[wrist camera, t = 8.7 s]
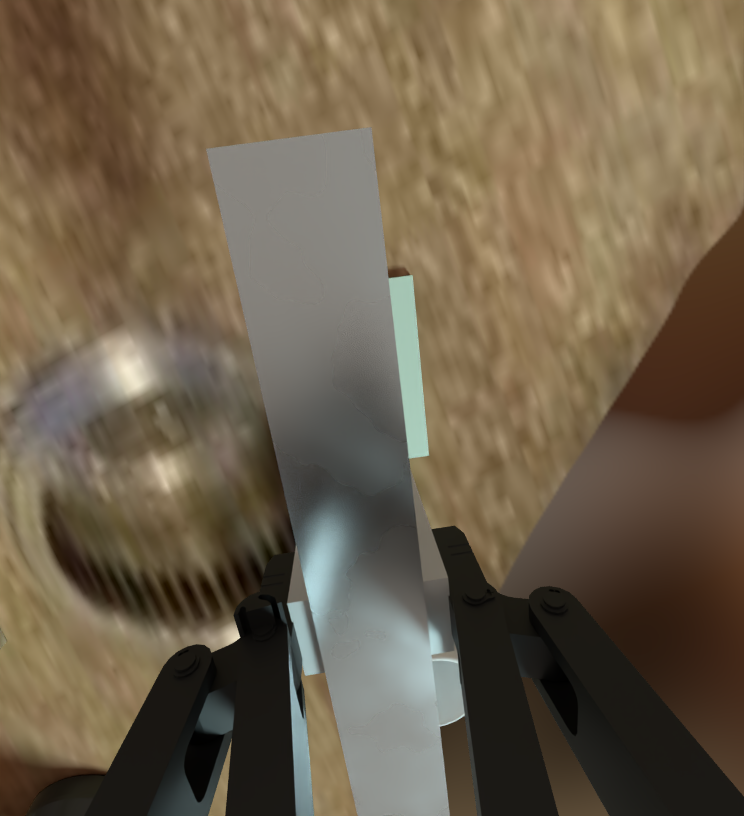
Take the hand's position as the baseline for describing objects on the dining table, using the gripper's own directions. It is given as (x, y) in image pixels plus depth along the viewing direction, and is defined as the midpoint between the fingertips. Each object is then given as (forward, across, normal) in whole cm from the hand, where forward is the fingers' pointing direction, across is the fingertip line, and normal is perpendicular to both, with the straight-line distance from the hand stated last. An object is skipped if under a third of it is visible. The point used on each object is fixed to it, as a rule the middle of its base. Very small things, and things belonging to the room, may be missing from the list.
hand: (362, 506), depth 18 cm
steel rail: (-4, 0, 0) cm, 4 cm away
